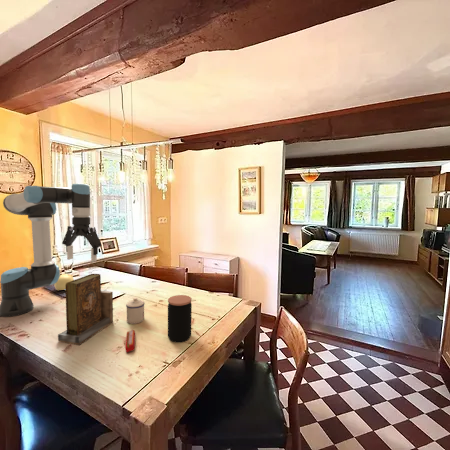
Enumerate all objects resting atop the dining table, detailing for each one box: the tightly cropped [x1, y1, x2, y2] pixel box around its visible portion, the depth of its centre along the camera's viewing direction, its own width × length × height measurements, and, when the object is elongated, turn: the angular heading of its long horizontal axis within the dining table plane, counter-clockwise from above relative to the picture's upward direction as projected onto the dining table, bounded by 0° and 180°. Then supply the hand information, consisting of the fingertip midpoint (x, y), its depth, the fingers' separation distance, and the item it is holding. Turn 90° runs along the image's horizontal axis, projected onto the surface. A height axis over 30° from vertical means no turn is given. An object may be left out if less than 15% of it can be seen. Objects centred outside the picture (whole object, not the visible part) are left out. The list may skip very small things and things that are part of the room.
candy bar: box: [124, 329, 136, 353], centre depth 111 cm, size 16×4×3 cm, turn 18°
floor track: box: [57, 290, 114, 346], centre depth 120 cm, size 11×22×16 cm, turn 167°
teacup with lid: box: [125, 297, 146, 325], centre depth 133 cm, size 12×9×12 cm
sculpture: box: [53, 273, 75, 291], centre depth 176 cm, size 11×12×11 cm
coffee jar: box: [167, 294, 193, 344], centre depth 116 cm, size 11×11×18 cm
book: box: [65, 273, 102, 336], centre depth 119 cm, size 16×6×25 cm, turn 167°
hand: (81, 260), depth 123 cm, fingers open, 13 cm apart
